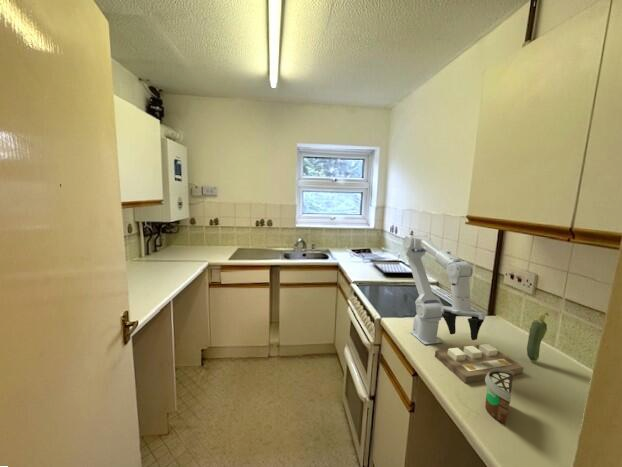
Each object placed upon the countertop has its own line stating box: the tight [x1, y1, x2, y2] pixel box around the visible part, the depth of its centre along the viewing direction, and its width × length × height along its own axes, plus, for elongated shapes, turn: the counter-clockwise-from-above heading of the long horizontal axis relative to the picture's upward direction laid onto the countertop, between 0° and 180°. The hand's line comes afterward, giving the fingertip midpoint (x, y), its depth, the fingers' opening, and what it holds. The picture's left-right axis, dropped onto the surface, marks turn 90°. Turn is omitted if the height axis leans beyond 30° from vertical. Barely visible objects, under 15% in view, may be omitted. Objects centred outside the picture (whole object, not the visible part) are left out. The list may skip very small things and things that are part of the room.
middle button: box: [463, 345, 482, 359], centre depth 98 cm, size 4×4×2 cm
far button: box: [478, 343, 499, 357], centre depth 100 cm, size 4×4×2 cm
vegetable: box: [526, 311, 549, 364], centre depth 98 cm, size 4×4×20 cm
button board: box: [434, 344, 525, 384], centre depth 96 cm, size 14×24×3 cm, turn 105°
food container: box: [484, 369, 515, 426], centre depth 76 cm, size 12×6×10 cm, turn 141°
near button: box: [447, 347, 466, 361], centre depth 96 cm, size 4×4×2 cm
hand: (463, 336), depth 93 cm, fingers open, 7 cm apart
